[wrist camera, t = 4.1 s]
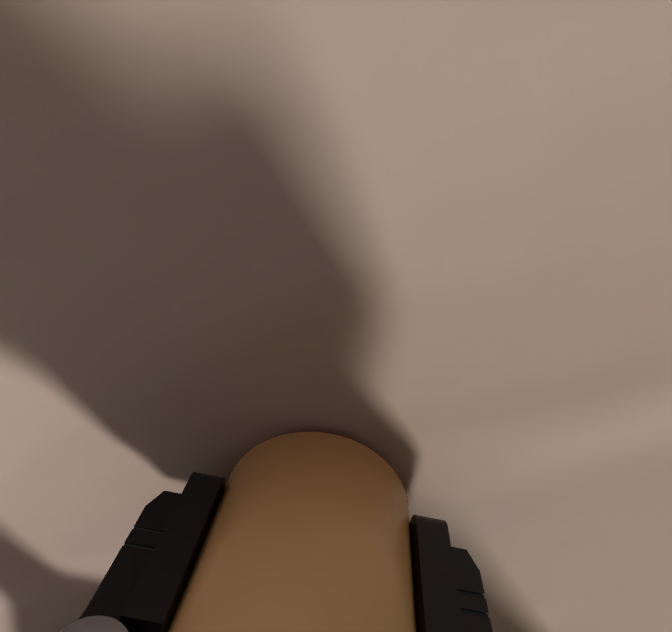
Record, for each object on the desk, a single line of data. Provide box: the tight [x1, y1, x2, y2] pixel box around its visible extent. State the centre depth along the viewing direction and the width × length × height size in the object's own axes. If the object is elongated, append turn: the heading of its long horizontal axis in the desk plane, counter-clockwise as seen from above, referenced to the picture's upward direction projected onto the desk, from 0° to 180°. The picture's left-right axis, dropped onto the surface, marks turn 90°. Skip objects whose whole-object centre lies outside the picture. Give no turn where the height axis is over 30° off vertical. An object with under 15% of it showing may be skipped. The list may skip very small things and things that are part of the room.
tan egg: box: [168, 432, 417, 632], centre depth 10 cm, size 4×4×6 cm
